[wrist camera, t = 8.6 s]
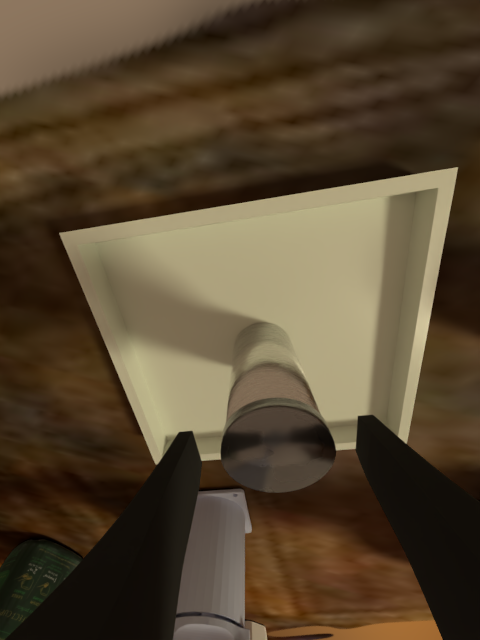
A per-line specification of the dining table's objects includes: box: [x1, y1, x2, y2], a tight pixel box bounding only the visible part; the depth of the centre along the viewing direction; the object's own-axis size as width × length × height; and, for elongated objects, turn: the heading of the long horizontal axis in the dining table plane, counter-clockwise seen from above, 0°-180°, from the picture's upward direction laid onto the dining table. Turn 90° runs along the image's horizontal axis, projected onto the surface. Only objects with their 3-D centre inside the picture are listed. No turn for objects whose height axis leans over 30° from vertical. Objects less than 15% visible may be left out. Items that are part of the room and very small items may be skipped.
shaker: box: [221, 322, 336, 493], centre depth 14 cm, size 5×5×9 cm
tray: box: [59, 167, 458, 464], centre depth 17 cm, size 22×20×2 cm
